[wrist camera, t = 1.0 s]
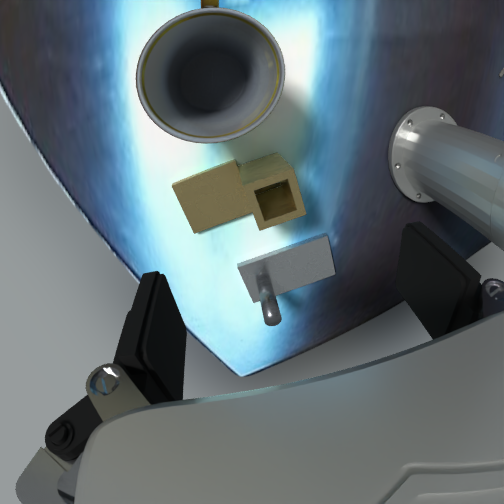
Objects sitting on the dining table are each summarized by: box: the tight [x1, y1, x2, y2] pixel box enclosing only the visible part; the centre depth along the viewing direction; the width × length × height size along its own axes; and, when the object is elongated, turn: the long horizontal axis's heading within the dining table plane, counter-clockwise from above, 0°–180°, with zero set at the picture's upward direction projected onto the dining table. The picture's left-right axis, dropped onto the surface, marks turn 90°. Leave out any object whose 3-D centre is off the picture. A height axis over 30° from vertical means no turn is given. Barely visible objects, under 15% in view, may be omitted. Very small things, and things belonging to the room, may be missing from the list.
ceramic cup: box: [136, 0, 285, 143], centre depth 20 cm, size 13×10×10 cm
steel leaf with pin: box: [237, 233, 335, 326], centre depth 33 cm, size 11×6×8 cm, turn 109°
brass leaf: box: [172, 153, 306, 234], centre depth 28 cm, size 11×6×7 cm, turn 109°
